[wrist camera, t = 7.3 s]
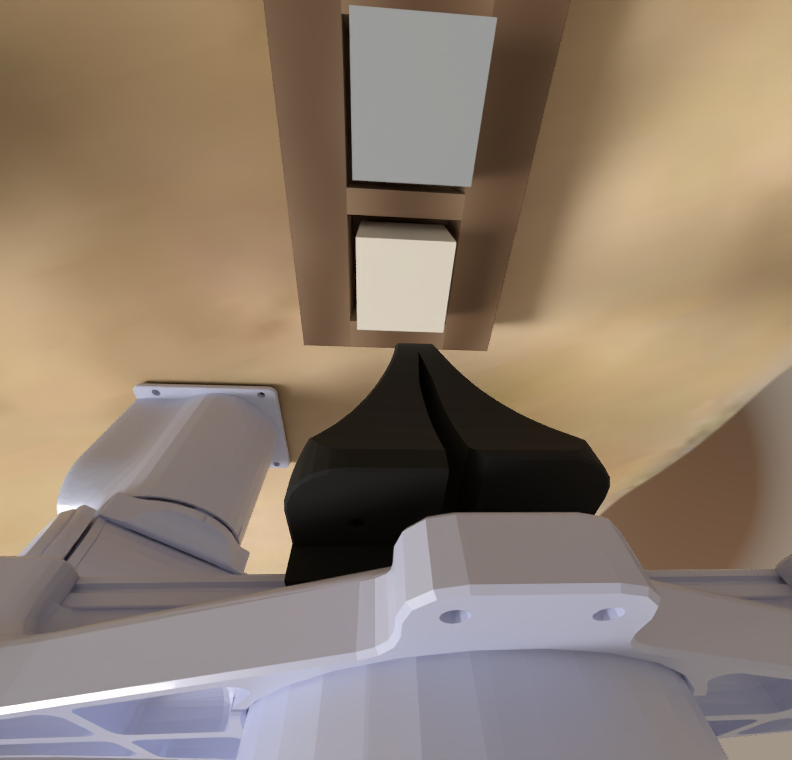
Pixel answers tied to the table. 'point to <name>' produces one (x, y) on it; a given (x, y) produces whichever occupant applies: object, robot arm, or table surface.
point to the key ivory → (403, 276)
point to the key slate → (417, 94)
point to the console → (463, 206)
